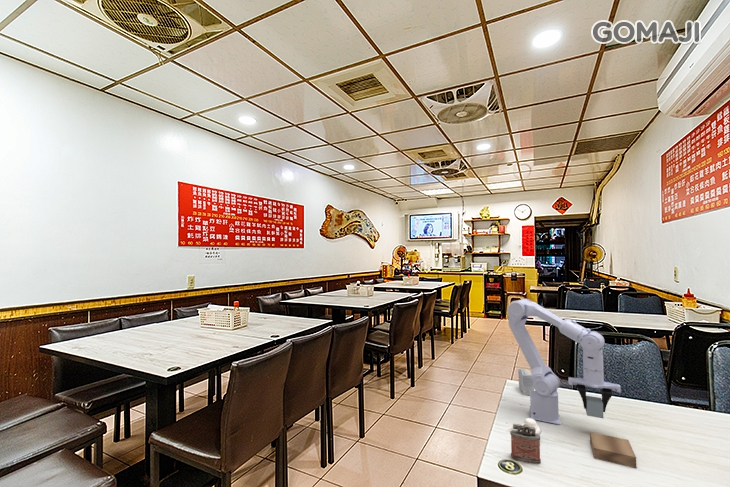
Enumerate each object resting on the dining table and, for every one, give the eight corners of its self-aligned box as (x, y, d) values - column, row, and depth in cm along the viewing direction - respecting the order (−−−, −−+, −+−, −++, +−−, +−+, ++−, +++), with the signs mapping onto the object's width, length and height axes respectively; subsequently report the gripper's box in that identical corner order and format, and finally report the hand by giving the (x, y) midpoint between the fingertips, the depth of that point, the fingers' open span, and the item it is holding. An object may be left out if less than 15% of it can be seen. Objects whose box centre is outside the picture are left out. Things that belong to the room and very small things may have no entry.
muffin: (521, 443, 108) (520, 421, 108) (519, 433, 113) (519, 412, 114) (542, 447, 106) (542, 424, 106) (539, 437, 111) (539, 415, 112)
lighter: (539, 458, 100) (539, 424, 100) (541, 465, 96) (541, 430, 97) (510, 453, 102) (509, 420, 103) (511, 460, 99) (510, 425, 99)
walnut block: (594, 458, 100) (593, 447, 100) (589, 441, 109) (589, 431, 109) (636, 468, 95) (636, 457, 95) (628, 449, 104) (628, 439, 104)
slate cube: (587, 415, 112) (586, 400, 112) (585, 409, 116) (585, 395, 116) (603, 418, 110) (603, 403, 110) (601, 412, 114) (601, 397, 114)
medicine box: (534, 396, 143) (533, 375, 143) (523, 395, 144) (522, 375, 144) (529, 388, 151) (528, 369, 151) (518, 388, 151) (518, 368, 152)
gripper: (569, 368, 113) (569, 409, 113) (622, 376, 107) (623, 419, 106) (567, 362, 120) (568, 401, 119) (617, 369, 113) (618, 410, 112)
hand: (594, 409), depth 113 cm, fingers closed on slate cube, 4 cm apart
